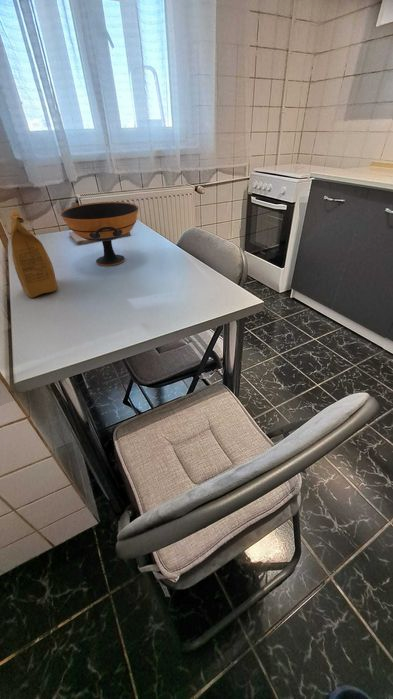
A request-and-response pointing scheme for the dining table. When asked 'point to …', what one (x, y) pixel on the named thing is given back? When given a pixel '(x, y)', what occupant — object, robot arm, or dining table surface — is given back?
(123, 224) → the footed pedestal bowl
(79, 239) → the chopping board
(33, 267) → the coffee package
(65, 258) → the dining table surface
